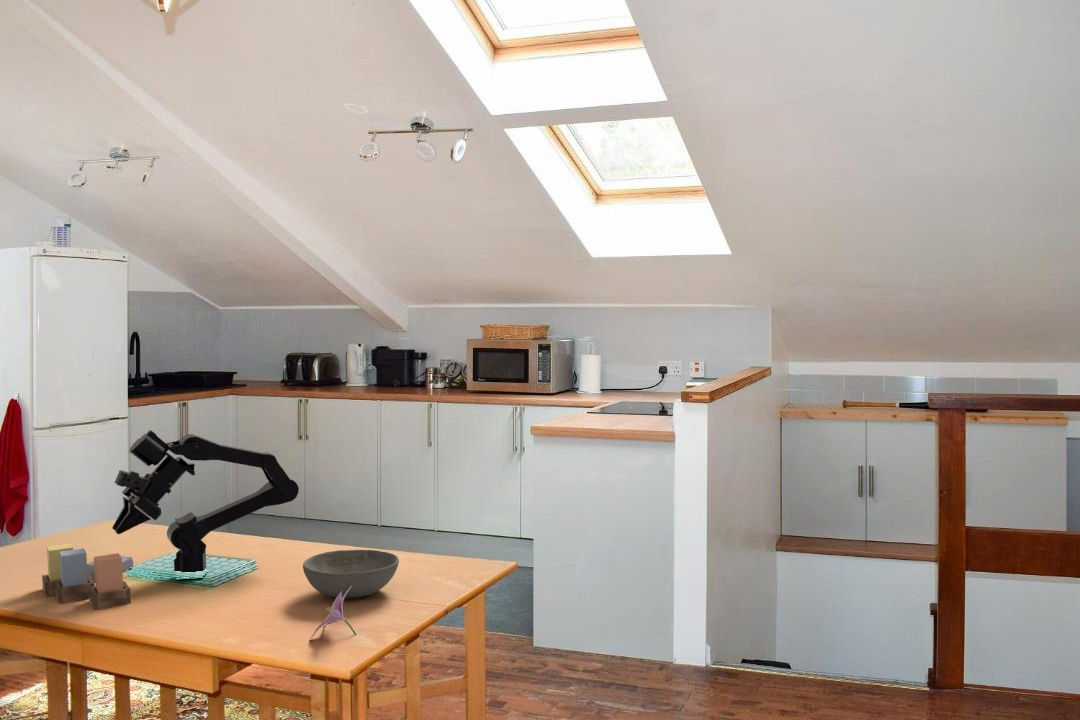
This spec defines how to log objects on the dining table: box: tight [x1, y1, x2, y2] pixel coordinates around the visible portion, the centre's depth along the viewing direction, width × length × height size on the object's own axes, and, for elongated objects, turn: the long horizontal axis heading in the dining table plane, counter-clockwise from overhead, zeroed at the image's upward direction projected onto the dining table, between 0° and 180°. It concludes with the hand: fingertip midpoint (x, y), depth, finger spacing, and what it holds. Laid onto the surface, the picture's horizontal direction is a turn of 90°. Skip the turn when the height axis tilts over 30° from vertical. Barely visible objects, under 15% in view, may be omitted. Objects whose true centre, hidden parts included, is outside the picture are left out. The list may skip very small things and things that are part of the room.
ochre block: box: [46, 543, 74, 581], centre depth 218 cm, size 5×5×8 cm
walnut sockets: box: [41, 574, 132, 611], centre depth 213 cm, size 15×25×3 cm, turn 32°
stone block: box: [87, 554, 134, 581], centre depth 231 cm, size 12×5×10 cm
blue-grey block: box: [59, 547, 88, 587], centre depth 212 cm, size 5×5×8 cm
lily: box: [309, 586, 357, 641], centre depth 183 cm, size 12×12×10 cm
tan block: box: [93, 552, 124, 593], centre depth 207 cm, size 5×5×8 cm
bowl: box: [302, 549, 400, 599], centre depth 209 cm, size 21×21×8 cm
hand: (115, 531), depth 217 cm, fingers open, 4 cm apart
